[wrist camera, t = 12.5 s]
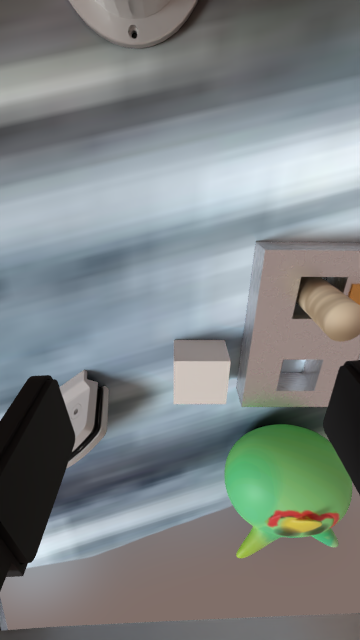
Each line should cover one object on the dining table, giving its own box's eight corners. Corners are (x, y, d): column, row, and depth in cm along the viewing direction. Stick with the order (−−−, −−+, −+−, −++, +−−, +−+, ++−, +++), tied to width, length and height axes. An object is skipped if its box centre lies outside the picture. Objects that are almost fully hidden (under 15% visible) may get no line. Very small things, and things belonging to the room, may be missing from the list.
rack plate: (255, 241, 33) (265, 250, 30) (374, 242, 34) (398, 251, 30) (236, 387, 43) (241, 408, 40) (327, 387, 44) (341, 407, 40)
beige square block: (174, 339, 39) (173, 361, 35) (224, 340, 39) (230, 361, 35) (173, 379, 43) (173, 404, 38) (220, 379, 43) (225, 404, 38)
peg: (291, 270, 35) (331, 304, 26) (324, 271, 35) (374, 304, 26) (285, 300, 37) (320, 341, 28) (316, 300, 37) (360, 341, 28)
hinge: (85, 368, 41) (84, 433, 34) (109, 380, 45) (113, 442, 37) (13, 420, 46) (-1, 487, 39) (39, 427, 49) (31, 491, 42)
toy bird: (336, 406, 46) (400, 500, 33) (309, 473, 53) (353, 570, 40) (224, 403, 45) (244, 498, 32) (214, 472, 53) (226, 570, 40)
